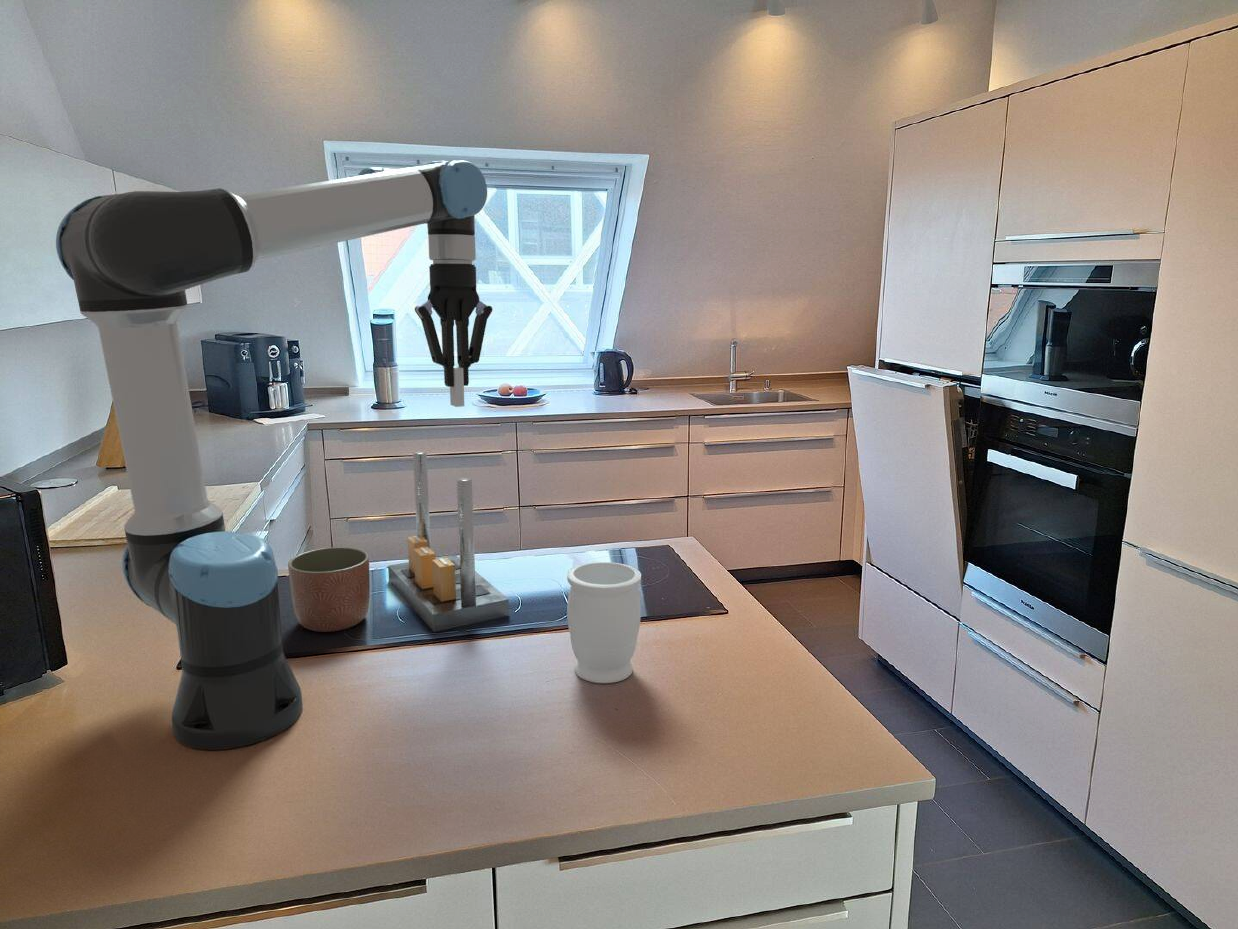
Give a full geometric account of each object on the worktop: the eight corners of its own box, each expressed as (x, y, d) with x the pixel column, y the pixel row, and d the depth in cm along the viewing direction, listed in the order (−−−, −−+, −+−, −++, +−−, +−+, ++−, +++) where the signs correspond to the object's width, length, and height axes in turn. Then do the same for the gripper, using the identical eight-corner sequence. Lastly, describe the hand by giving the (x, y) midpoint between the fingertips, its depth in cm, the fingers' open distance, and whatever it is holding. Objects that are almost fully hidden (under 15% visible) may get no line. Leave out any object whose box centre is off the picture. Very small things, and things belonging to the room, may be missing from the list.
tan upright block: (436, 586, 142) (435, 552, 140) (422, 589, 141) (420, 554, 139) (429, 579, 145) (427, 545, 144) (415, 581, 144) (413, 548, 142)
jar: (654, 670, 119) (656, 573, 116) (605, 696, 112) (605, 593, 108) (602, 648, 126) (602, 555, 123) (552, 671, 119) (551, 573, 115)
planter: (300, 644, 126) (295, 577, 124) (287, 616, 137) (281, 554, 134) (381, 628, 133) (377, 564, 130) (362, 602, 143) (358, 542, 140)
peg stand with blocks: (509, 615, 138) (506, 477, 132) (434, 632, 131) (427, 486, 126) (455, 569, 159) (451, 448, 154) (388, 580, 153) (381, 455, 148)
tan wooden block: (429, 573, 148) (427, 540, 147) (415, 575, 147) (414, 542, 145) (422, 566, 151) (420, 534, 150) (409, 568, 150) (407, 536, 149)
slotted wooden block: (456, 598, 136) (454, 563, 135) (441, 601, 135) (440, 566, 134) (447, 591, 140) (446, 556, 138) (433, 593, 138) (432, 558, 137)
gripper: (481, 263, 140) (485, 400, 146) (406, 262, 134) (413, 405, 139) (498, 263, 134) (501, 405, 139) (420, 261, 128) (427, 411, 133)
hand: (457, 405), depth 139 cm, fingers closed
